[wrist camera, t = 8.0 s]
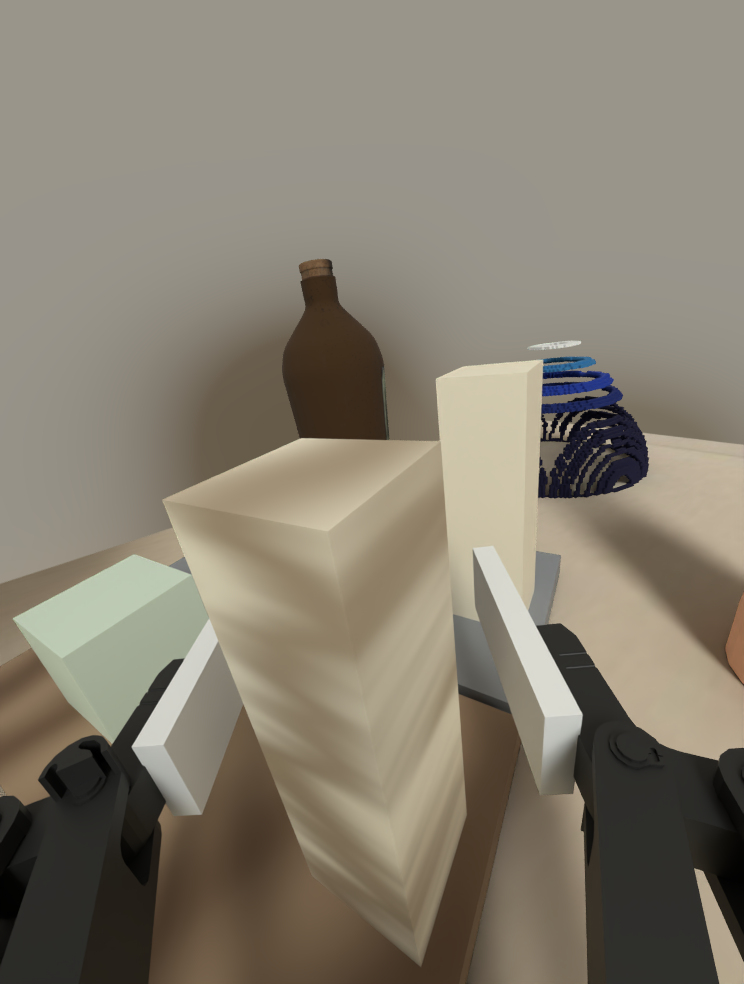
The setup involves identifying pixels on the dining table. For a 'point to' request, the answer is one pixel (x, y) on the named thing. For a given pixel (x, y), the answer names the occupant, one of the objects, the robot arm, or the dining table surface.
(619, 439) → the blue ringed dome
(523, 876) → the dining table surface
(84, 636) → the sage block
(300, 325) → the olive oil
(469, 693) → the gray board with post
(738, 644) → the pepper shaker
